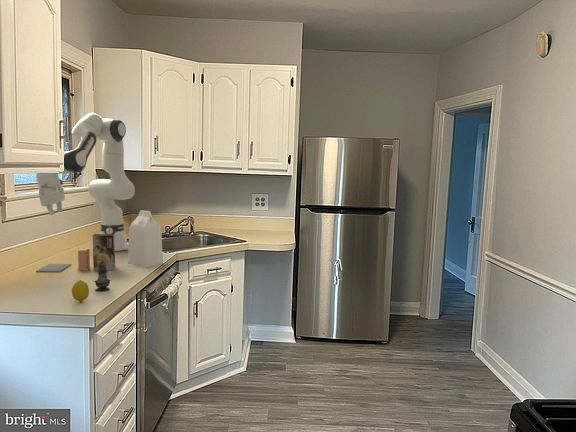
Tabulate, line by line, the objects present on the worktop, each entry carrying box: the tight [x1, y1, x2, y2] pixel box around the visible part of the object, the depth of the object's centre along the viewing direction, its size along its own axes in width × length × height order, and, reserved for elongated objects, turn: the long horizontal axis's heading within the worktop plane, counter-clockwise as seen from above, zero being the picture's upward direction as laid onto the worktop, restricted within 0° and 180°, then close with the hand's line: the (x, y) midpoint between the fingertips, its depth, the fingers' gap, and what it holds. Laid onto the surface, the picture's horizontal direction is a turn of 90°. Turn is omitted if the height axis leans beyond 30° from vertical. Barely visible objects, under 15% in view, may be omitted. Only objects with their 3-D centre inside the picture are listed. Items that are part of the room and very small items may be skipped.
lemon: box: [71, 279, 90, 303], centre depth 162 cm, size 6×6×8 cm
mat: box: [35, 263, 72, 273], centre depth 209 cm, size 14×10×1 cm
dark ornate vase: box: [94, 260, 112, 293], centre depth 178 cm, size 6×6×12 cm
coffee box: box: [92, 233, 116, 272], centre depth 211 cm, size 9×6×16 cm
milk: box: [127, 209, 164, 268], centre depth 224 cm, size 12×12×26 cm
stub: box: [77, 247, 91, 271], centre depth 210 cm, size 4×4×9 cm
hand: (56, 213), depth 210 cm, fingers open, 8 cm apart
